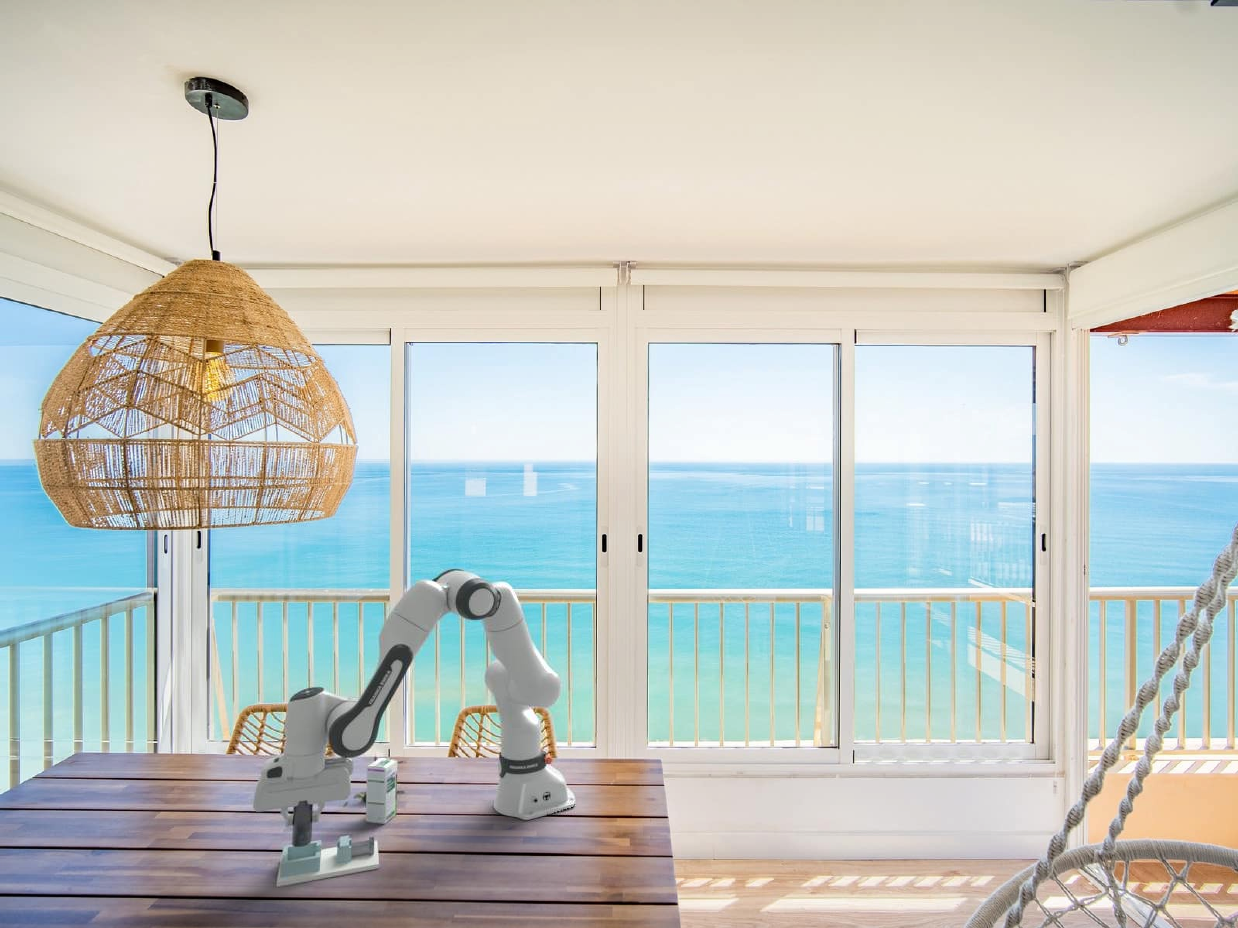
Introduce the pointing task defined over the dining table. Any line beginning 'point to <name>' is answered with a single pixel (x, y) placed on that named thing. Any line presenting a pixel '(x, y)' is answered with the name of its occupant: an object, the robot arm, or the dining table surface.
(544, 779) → the robot arm
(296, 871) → the dock
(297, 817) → the dark grey gold-tipped cylinder
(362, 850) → the pin
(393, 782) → the syrup box
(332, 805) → the dining table surface
